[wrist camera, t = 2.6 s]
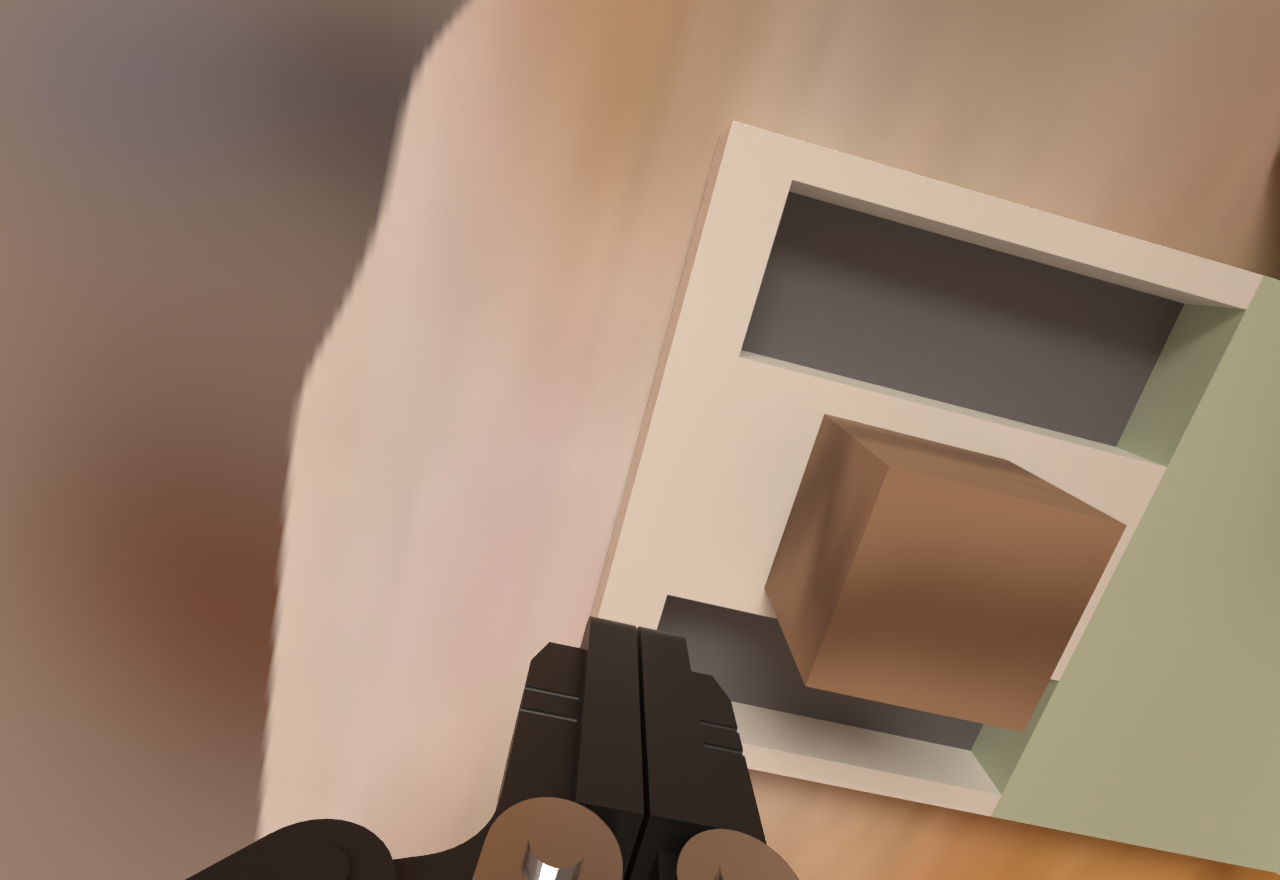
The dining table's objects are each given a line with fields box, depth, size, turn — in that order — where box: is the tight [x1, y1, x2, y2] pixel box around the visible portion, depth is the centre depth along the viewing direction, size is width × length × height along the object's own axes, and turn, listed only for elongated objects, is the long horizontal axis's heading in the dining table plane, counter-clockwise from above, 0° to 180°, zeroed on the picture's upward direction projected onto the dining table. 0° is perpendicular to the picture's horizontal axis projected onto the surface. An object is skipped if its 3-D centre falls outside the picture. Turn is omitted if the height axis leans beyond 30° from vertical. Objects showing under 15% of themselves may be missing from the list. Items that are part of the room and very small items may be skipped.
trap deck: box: [591, 120, 1280, 876], centre depth 22 cm, size 20×30×4 cm
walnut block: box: [764, 414, 1127, 732], centre depth 18 cm, size 6×6×5 cm
